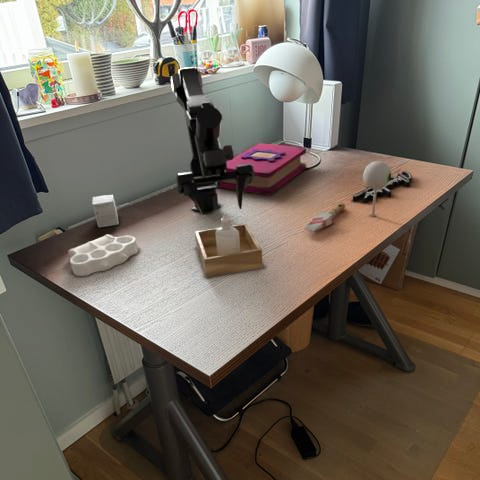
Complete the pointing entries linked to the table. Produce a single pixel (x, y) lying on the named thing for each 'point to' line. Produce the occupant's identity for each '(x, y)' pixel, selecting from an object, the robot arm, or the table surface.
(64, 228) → the table surface
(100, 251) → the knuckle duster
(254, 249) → the crate
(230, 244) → the eye dropper bottle
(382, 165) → the lollipop
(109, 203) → the product box
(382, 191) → the nameplate
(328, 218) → the cricket bat
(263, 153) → the book
